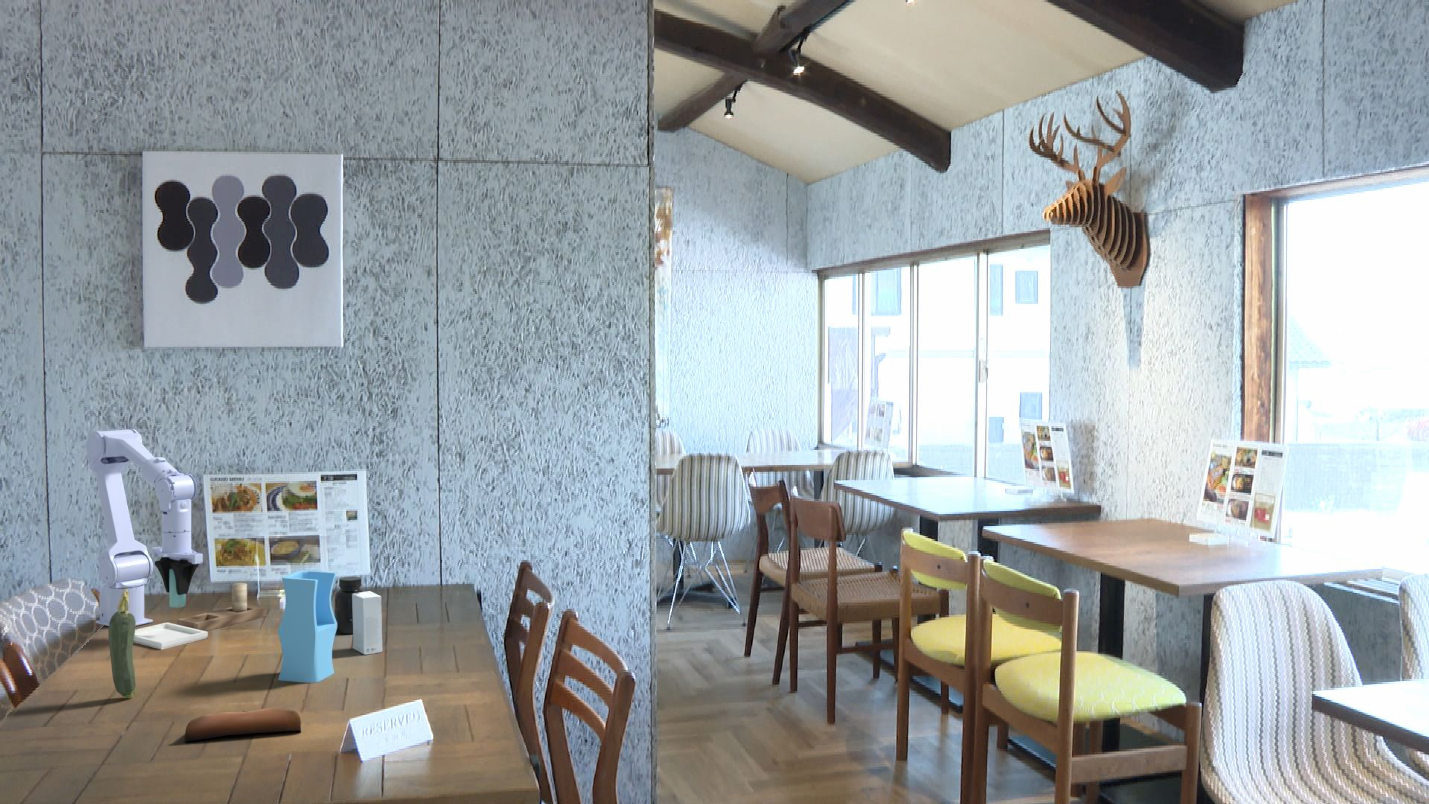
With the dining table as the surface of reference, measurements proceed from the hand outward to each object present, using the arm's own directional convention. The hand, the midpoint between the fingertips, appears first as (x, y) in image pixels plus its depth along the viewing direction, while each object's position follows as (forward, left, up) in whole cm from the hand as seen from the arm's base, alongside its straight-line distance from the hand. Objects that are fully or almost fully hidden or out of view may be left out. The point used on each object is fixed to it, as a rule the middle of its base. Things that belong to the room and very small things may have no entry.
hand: (176, 592), depth 246 cm
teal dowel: (0, 0, -3) cm, 3 cm away
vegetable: (+29, -31, -10) cm, 43 cm away
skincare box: (+41, +16, -10) cm, 45 cm away
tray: (-1, -2, -10) cm, 10 cm away
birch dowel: (-3, +18, -10) cm, 21 cm away
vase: (+45, -3, -10) cm, 46 cm away
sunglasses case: (+60, -29, -11) cm, 68 cm away
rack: (-3, +14, -10) cm, 17 cm away
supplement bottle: (+26, +25, -10) cm, 37 cm away
